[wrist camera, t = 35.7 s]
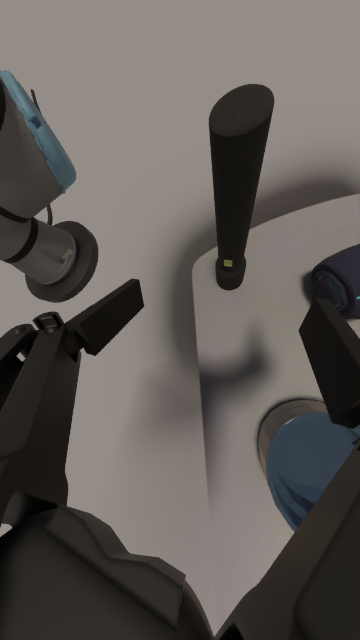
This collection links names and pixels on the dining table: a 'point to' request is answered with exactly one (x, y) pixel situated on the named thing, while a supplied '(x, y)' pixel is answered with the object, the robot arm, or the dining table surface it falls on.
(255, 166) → the flashlight
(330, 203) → the dining table surface
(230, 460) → the dining table surface
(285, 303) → the dining table surface
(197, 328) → the dining table surface
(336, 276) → the portable speaker
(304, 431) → the bowl
